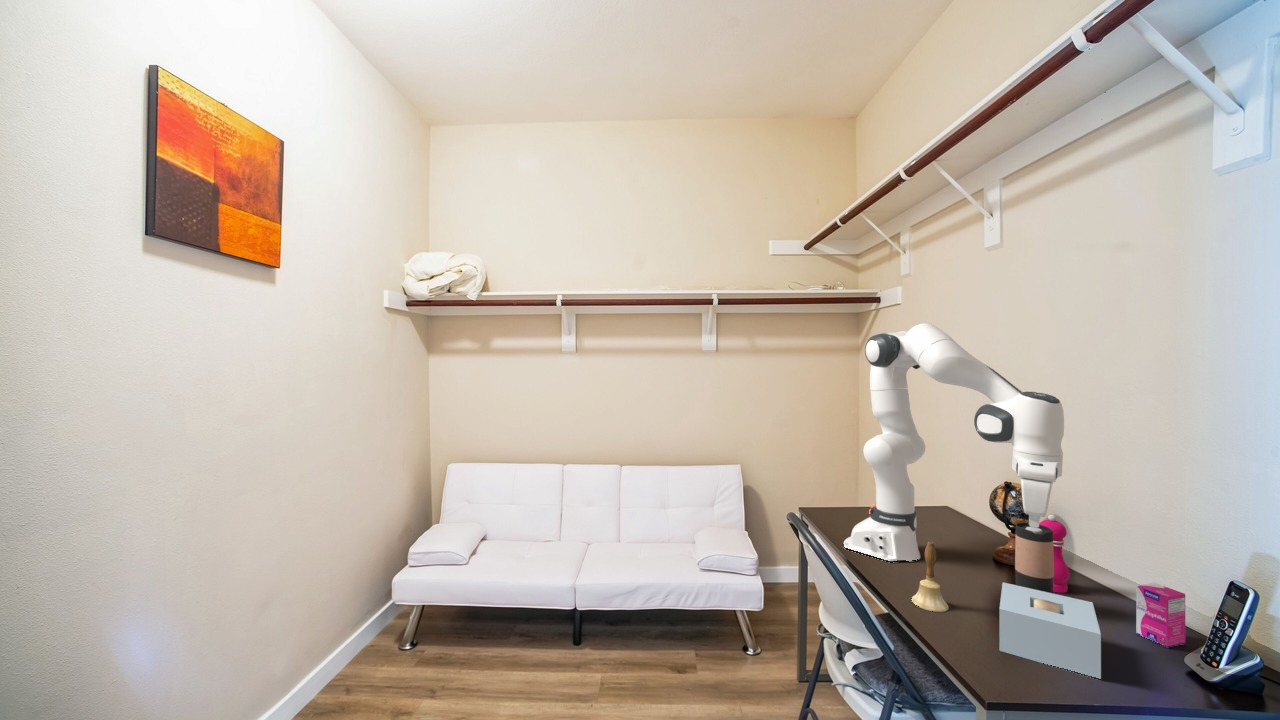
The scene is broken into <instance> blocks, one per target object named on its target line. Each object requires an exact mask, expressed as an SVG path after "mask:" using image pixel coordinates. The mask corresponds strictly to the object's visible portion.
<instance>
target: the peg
mask: <svg viewBox="0 0 1280 720" xmlns="http://www.w3.org/2000/svg"><path fill="white" fill-rule="evenodd" d="M1034 608H1038V609H1042V610H1046V611H1050V612H1054V613H1058V614H1060V606H1059V605H1057V604H1056V603H1053V602H1051V601H1047V600H1042V599H1036V600H1034Z"/></svg>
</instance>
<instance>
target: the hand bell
mask: <svg viewBox="0 0 1280 720" xmlns="http://www.w3.org/2000/svg"><path fill="white" fill-rule="evenodd" d="M924 559H925V564H926V575H925V579H922V580H920V581H919V586H918V590H917V592H916V594H914V595H913V596H912V597H911V598H912V599H910V601H911V600H912V601H911V602H913V603H914V604H915V606H916V605H917V606H916V607H918V606H919V607H918V608H920V609H922V610H924V611H928V612H932V611H933V613H945V612H948V611H949V609H950V608H949V607H950V606H949V604H948V603H947V602H946V601H945V600H944V598H943V596H942V591H941V585H940V584H939V583H938V582H937V581H935V580H934V579H935V578H934V577H935V569H934V568H935V565H936V561H937V550H936V547H935V543H934V542H933V541H931V540H929V541H927V545H926V546H925V550H924ZM913 603H912V604H913ZM914 604H913V605H914Z"/></svg>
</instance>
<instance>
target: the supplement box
mask: <svg viewBox="0 0 1280 720" xmlns="http://www.w3.org/2000/svg"><path fill="white" fill-rule="evenodd" d="M1135 587H1136V589H1135V590H1136V593H1135V595H1136V602H1135V603H1136V606H1135V607H1136V610H1135V611H1136V612H1135V613H1136V615H1135V616H1136V618H1135V619H1136V622H1135V623H1136V624H1135V625H1136V627H1135V629H1136V630H1135V631H1136V632H1135V633H1136V634H1135V635H1137V636H1139V637H1141V636H1142V638H1144V637H1145V638H1144V639H1146V638H1147V640H1148V639H1150V640H1152V641H1151V642H1153V641H1155V642H1157V643H1160V644H1162V645H1165V646H1167V647H1170V646H1175V645H1180V644H1185V645H1186V593H1184V592H1181V591H1178V590H1176V589H1172V588H1171V587H1168V586H1165V585H1162V584H1159V583H1157V582H1155V581H1153V582H1149V583H1143V584H1137V585H1136V586H1135ZM1150 640H1149V641H1150ZM1155 642H1154V643H1155ZM1157 643H1156V644H1157Z"/></svg>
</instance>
